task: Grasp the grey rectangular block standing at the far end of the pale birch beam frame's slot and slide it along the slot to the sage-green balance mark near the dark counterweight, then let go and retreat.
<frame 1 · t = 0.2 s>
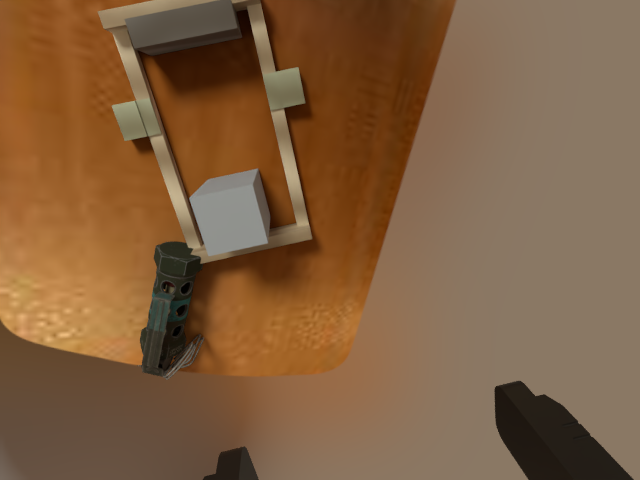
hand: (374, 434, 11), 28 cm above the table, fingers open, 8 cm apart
stun grenade: (182, 301, 40), on the table, touching beam frame
grey rectangular block: (240, 198, 36), resting in beam frame
beam frame: (223, 137, 34), on the table
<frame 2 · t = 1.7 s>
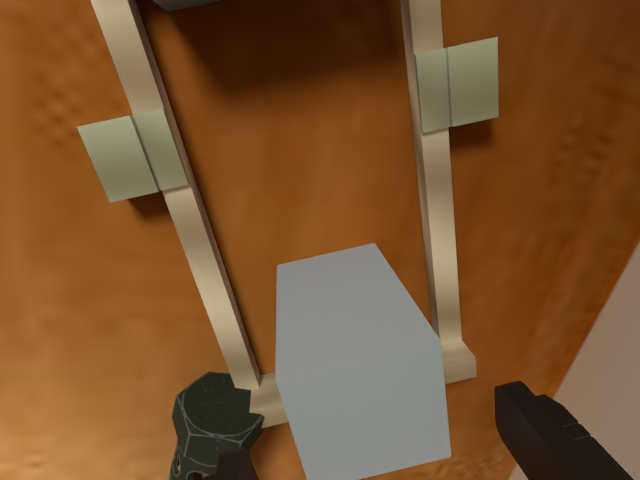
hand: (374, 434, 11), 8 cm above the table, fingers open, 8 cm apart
stun grenade: (220, 460, 22), on the table, touching beam frame
grey rectangular block: (334, 296, 19), resting in beam frame
beam frame: (311, 186, 17), on the table
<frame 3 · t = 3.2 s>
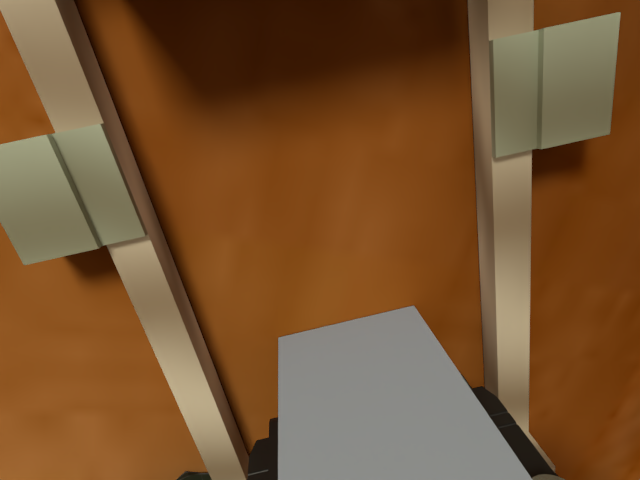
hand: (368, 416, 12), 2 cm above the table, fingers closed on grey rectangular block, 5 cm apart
grey rectangular block: (357, 375, 14), resting in beam frame, touching gripper
beam frame: (327, 232, 12), on the table
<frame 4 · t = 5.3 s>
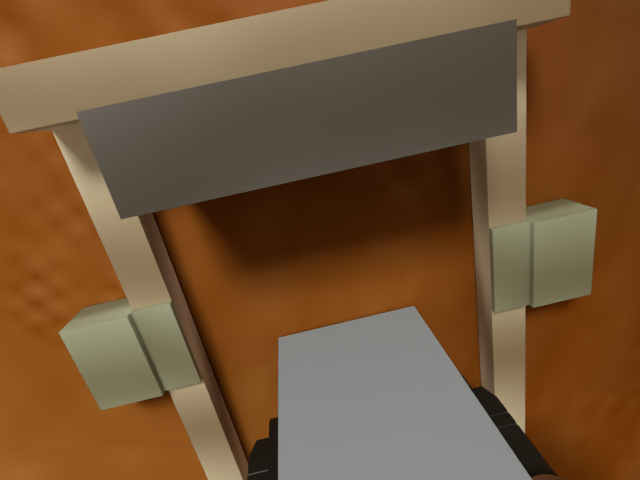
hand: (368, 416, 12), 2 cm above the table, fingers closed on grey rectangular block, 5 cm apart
grey rectangular block: (357, 375, 14), resting in beam frame, touching gripper
beam frame: (350, 359, 14), on the table
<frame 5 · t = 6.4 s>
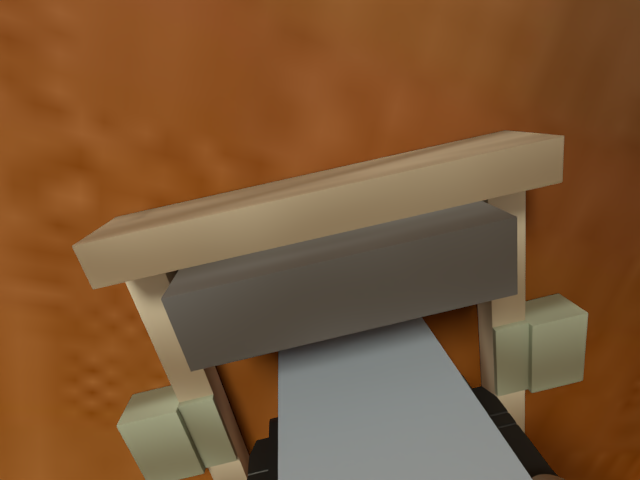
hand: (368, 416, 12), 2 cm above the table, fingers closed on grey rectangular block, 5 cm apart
grey rectangular block: (357, 375, 14), resting in beam frame, touching gripper
beam frame: (367, 430, 15), on the table
when the fingers open (2 cm above the table, at t = 7.5 s): grey rectangular block stays where it is, resting in beam frame.
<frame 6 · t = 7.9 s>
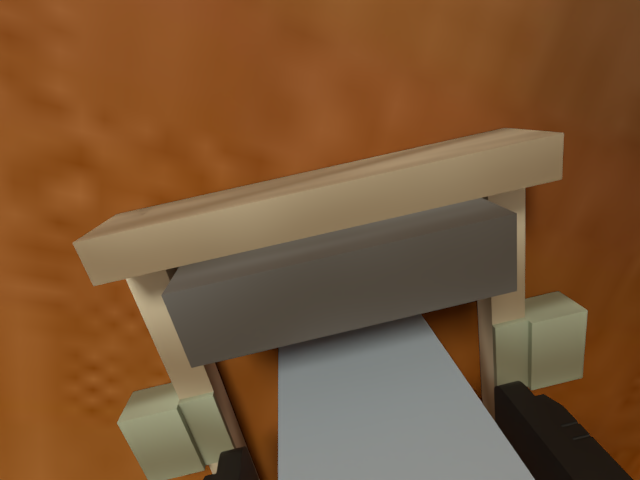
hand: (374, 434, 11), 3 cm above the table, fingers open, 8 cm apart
grey rectangular block: (356, 369, 14), resting in beam frame
beam frame: (367, 427, 15), on the table
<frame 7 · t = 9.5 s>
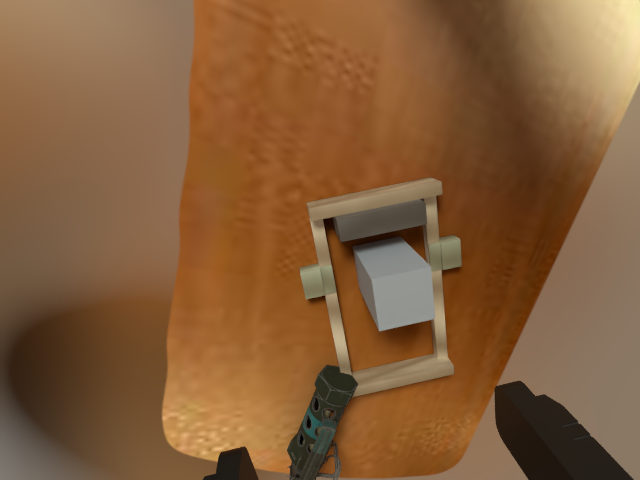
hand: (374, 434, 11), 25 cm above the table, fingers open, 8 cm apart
stun grenade: (322, 412, 44), on the table, touching beam frame
grey rectangular block: (379, 263, 38), resting in beam frame
beam frame: (382, 289, 39), on the table
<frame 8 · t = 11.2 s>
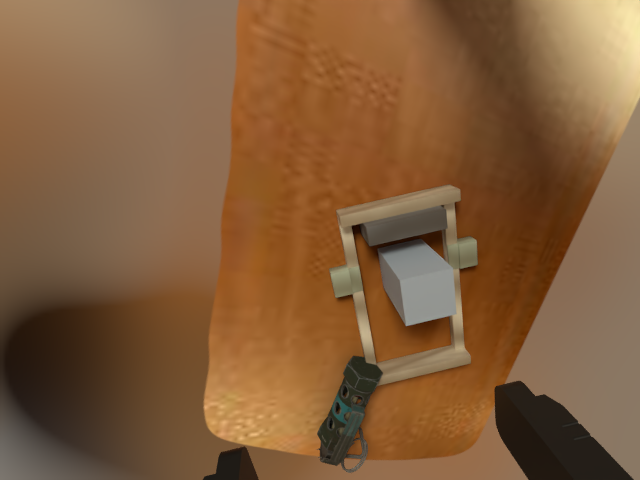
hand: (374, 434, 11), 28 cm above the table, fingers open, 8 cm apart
stun grenade: (348, 399, 47), on the table, touching beam frame
grey rectangular block: (401, 263, 41), resting in beam frame
beam frame: (404, 287, 42), on the table
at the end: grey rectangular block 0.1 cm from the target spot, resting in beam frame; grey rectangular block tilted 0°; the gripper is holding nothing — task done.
